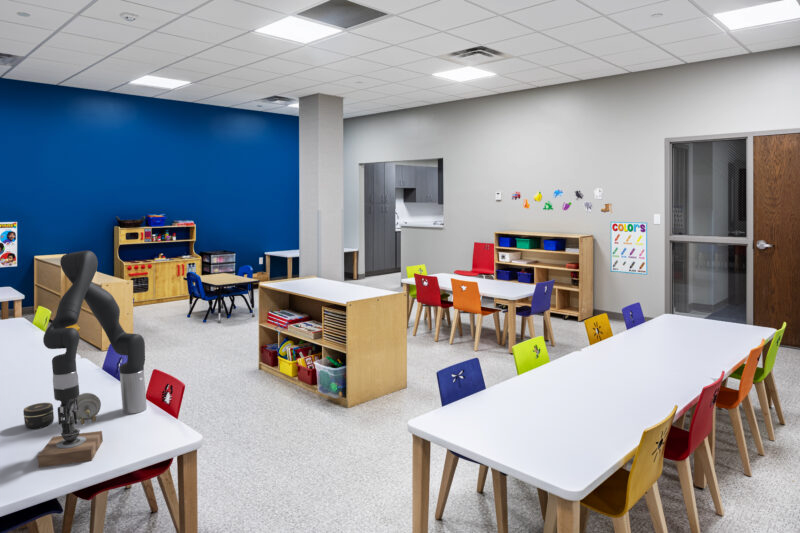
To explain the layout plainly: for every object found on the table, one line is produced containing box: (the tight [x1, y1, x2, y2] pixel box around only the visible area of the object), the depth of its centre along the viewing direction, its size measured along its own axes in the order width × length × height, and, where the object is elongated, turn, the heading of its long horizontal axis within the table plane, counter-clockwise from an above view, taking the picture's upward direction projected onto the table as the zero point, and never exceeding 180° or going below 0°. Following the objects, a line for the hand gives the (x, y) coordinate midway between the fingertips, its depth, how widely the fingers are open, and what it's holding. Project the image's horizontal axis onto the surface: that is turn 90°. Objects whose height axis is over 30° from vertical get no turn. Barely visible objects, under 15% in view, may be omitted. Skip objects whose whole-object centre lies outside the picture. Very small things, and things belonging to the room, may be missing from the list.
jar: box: [22, 402, 55, 430], centre depth 218 cm, size 10×10×8 cm
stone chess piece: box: [60, 412, 81, 445], centre depth 192 cm, size 6×6×12 cm
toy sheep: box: [76, 392, 102, 425], centre depth 222 cm, size 11×17×11 cm, turn 39°
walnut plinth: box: [37, 430, 104, 468], centre depth 193 cm, size 16×16×4 cm
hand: (70, 428), depth 192 cm, fingers open, 8 cm apart
